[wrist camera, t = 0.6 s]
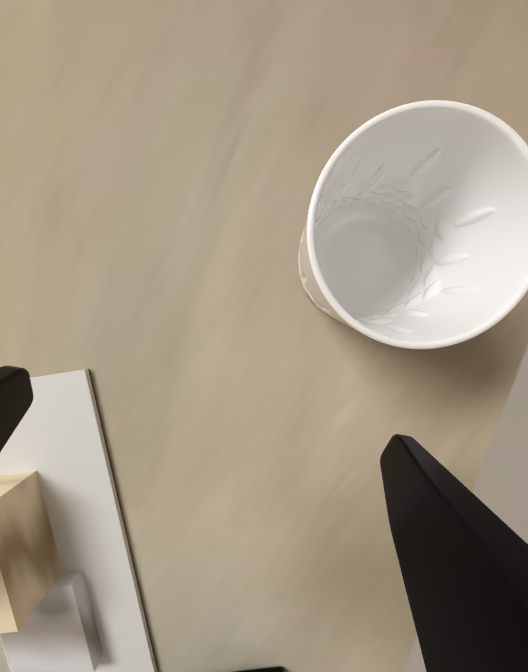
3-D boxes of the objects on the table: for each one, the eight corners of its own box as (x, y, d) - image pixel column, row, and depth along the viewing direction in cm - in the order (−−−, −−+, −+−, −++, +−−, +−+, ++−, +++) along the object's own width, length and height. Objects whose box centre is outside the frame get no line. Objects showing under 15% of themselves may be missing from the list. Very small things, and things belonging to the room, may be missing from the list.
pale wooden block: (103, 653, 23) (68, 727, 19) (27, 662, 23) (-24, 737, 19) (56, 467, 21) (8, 505, 17) (-25, 479, 22) (-91, 519, 18)
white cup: (429, 227, 20) (595, 149, 10) (383, 342, 20) (490, 381, 10) (313, 184, 19) (359, 61, 9) (271, 302, 20) (273, 304, 10)
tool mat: (157, 670, 24) (155, 676, 23) (20, 686, 24) (16, 693, 24) (88, 368, 21) (84, 369, 21) (-64, 392, 21) (-71, 394, 21)
